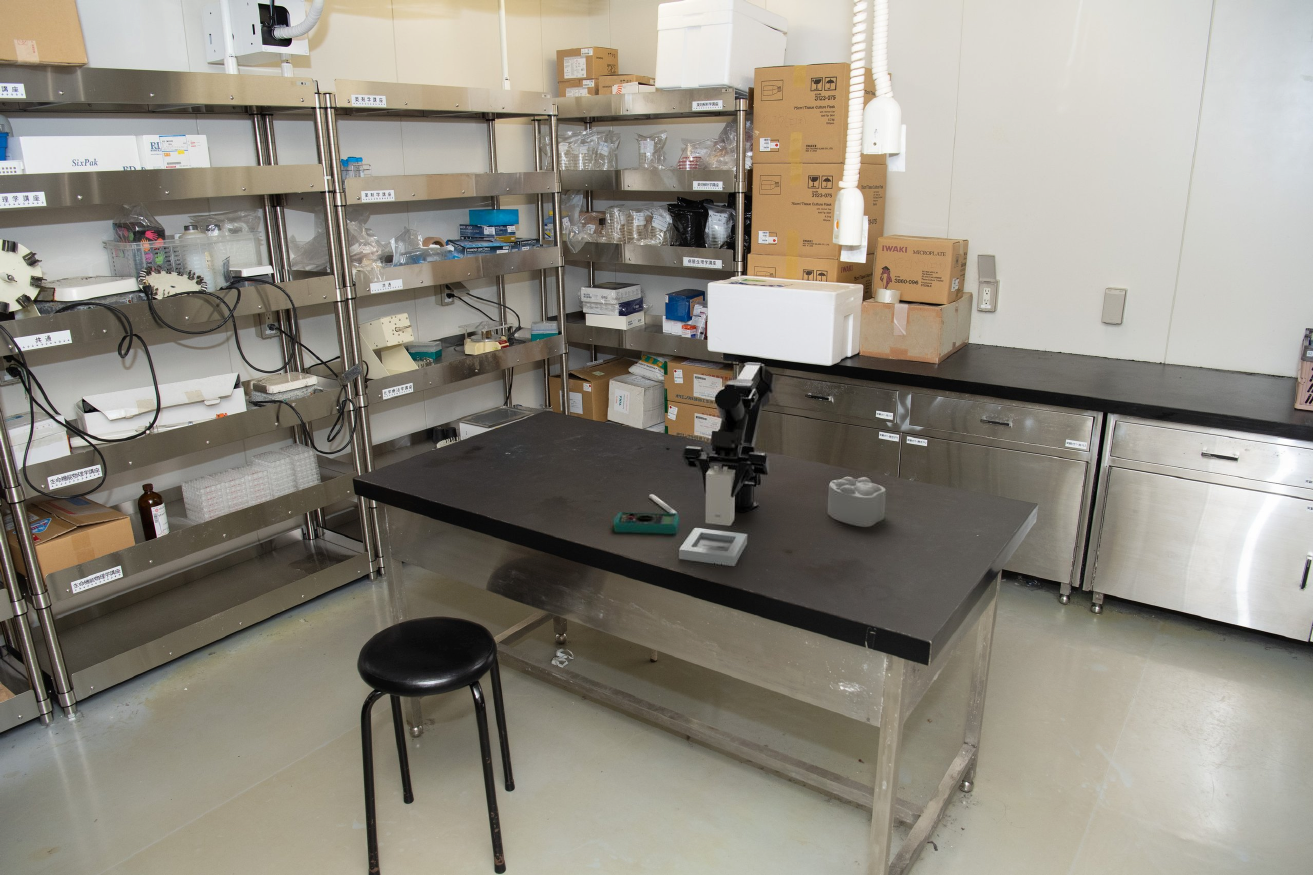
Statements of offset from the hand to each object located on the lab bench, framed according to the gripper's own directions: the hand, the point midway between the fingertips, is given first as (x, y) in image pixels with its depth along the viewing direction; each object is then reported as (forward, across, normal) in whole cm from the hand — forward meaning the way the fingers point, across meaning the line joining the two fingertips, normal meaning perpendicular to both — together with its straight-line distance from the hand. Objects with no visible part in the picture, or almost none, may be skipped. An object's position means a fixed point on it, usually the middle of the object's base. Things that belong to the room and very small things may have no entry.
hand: (718, 495), depth 187 cm
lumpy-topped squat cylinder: (-10, +26, +26) cm, 39 cm away
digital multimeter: (+6, -18, +12) cm, 22 cm away
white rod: (-4, -19, +21) cm, 28 cm away
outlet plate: (+11, 0, +6) cm, 12 cm away
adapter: (+4, 0, +6) cm, 7 cm away
